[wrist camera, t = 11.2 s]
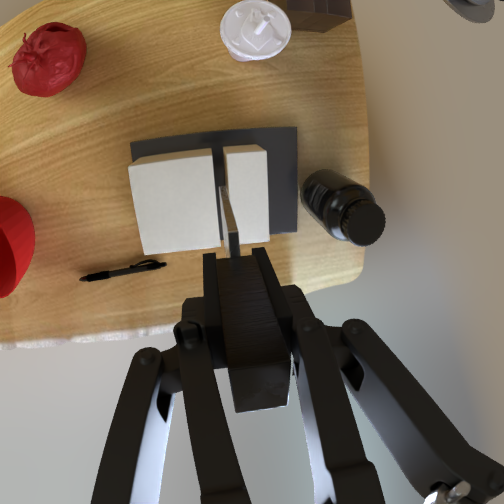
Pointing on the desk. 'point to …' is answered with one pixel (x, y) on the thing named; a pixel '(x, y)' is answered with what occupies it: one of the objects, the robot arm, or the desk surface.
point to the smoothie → (255, 30)
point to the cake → (175, 201)
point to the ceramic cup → (14, 244)
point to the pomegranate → (49, 59)
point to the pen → (125, 270)
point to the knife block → (315, 13)
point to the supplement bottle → (343, 207)
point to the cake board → (269, 138)
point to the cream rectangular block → (248, 191)
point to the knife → (249, 326)
